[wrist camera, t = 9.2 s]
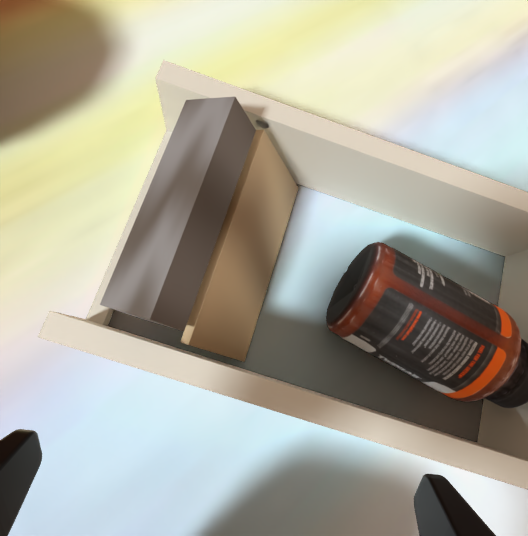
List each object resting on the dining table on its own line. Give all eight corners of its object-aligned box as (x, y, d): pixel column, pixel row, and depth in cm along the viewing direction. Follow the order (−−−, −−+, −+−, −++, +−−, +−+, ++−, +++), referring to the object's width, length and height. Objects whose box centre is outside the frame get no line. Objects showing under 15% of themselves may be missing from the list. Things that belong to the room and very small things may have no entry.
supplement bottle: (311, 346, 22) (482, 441, 22) (368, 286, 17) (579, 406, 17) (334, 279, 26) (476, 359, 26) (383, 218, 22) (554, 315, 22)
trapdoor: (204, 349, 24) (244, 362, 23) (95, 315, 16) (145, 331, 15) (259, 185, 27) (298, 188, 25) (189, 91, 19) (239, 87, 18)
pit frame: (491, 468, 23) (579, 505, 18) (82, 340, 22) (37, 337, 16) (522, 246, 27) (603, 219, 21) (174, 124, 25) (163, 60, 20)
